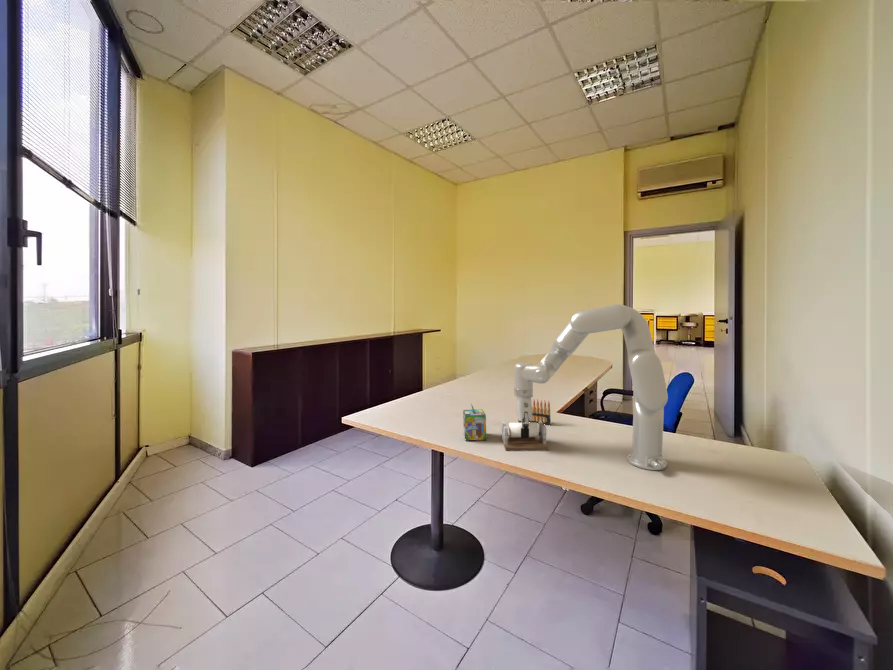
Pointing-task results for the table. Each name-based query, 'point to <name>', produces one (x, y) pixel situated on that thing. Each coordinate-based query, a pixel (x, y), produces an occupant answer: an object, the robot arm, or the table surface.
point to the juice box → (474, 424)
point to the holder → (525, 440)
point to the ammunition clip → (541, 413)
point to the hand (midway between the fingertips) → (523, 434)
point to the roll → (516, 429)
